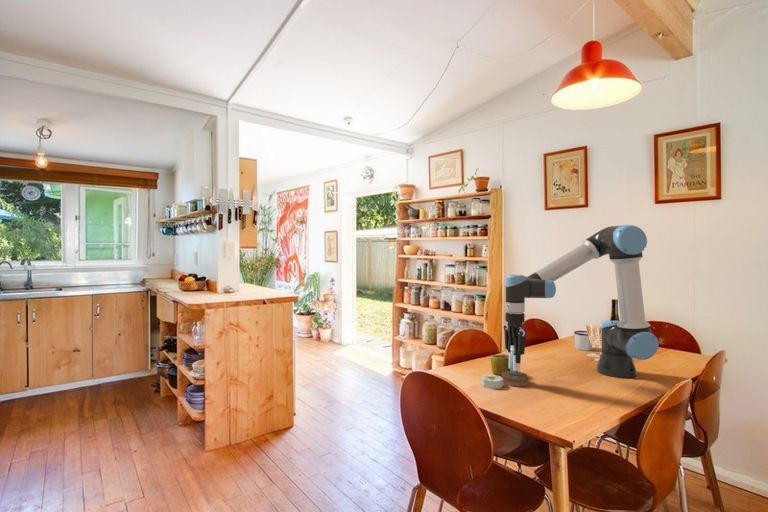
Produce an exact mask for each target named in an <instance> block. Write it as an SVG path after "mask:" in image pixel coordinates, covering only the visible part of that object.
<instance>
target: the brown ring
mask: <svg viewBox="0 0 768 512" xmlns="http://www.w3.org/2000/svg"><path fill="white" fill-rule="evenodd" d="M501 378H503V385H506V386H509V387H517V388H518V387H519V388H521V387H525V386H528V385H529V377H528V373H525V372H522V371H518V376H511V375H510V371H505V372H502V376H501Z"/></svg>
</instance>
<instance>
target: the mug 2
mask: <svg viewBox="0 0 768 512" xmlns="http://www.w3.org/2000/svg"><path fill="white" fill-rule="evenodd" d="M573 333H574V348H575V349H576V350H578V351H585V352H588V351H589V352H590V351H592V350H593V344H592V345H591V343H590V340H589V336H588V334H587V331H586V330H575V331H573Z"/></svg>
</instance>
